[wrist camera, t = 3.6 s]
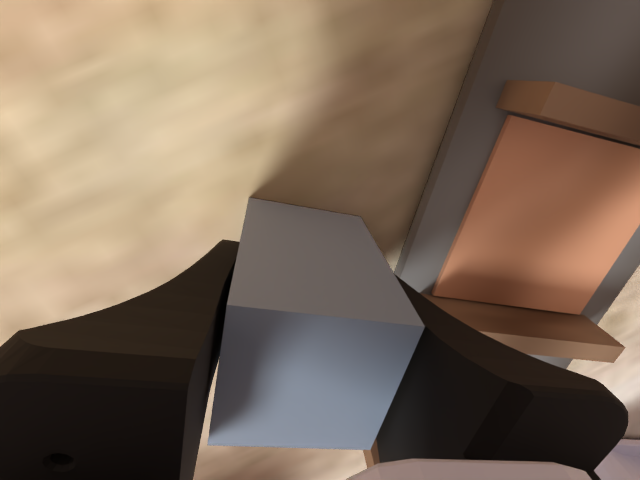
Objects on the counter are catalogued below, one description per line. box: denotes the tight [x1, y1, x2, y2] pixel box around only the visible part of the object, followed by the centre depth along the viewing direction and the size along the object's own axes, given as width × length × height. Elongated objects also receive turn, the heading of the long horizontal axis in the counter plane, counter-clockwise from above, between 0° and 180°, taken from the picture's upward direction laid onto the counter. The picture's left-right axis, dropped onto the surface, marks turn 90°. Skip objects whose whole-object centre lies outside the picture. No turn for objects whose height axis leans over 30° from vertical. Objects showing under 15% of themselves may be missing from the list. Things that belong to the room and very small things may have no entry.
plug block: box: [208, 197, 425, 450], centre depth 10 cm, size 4×4×6 cm
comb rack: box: [363, 0, 640, 469], centre depth 12 cm, size 10×24×3 cm, turn 167°
